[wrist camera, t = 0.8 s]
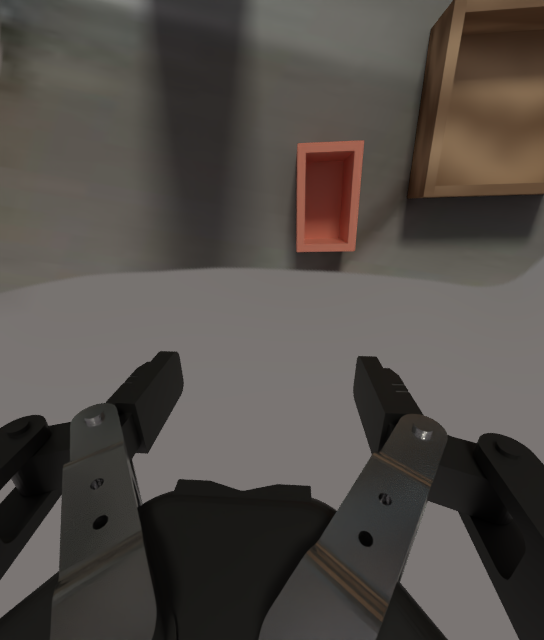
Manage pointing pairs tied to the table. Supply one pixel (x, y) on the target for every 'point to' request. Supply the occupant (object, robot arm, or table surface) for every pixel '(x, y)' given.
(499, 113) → the wooden crate
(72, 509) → the robot arm
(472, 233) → the table surface
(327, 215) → the red open box
